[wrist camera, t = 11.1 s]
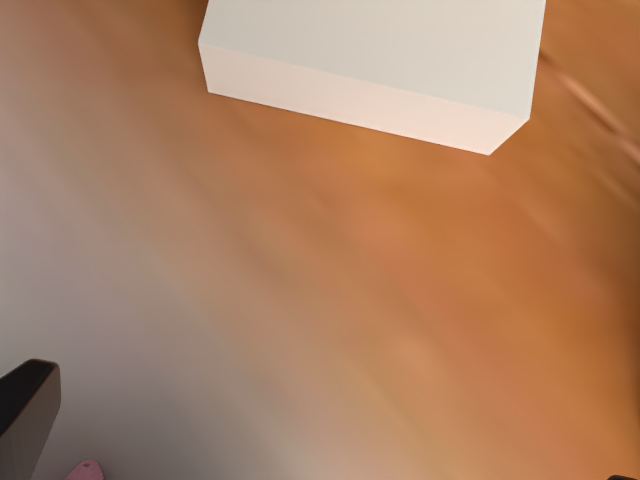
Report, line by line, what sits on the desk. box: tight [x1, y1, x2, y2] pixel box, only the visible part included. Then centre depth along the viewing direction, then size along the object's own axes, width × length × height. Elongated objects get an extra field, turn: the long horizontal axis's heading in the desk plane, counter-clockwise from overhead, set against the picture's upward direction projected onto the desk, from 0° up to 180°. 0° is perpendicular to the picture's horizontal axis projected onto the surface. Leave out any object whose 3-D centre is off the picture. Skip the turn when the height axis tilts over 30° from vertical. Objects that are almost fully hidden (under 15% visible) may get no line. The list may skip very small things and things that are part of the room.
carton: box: [198, 0, 546, 155], centre depth 24 cm, size 9×12×4 cm
